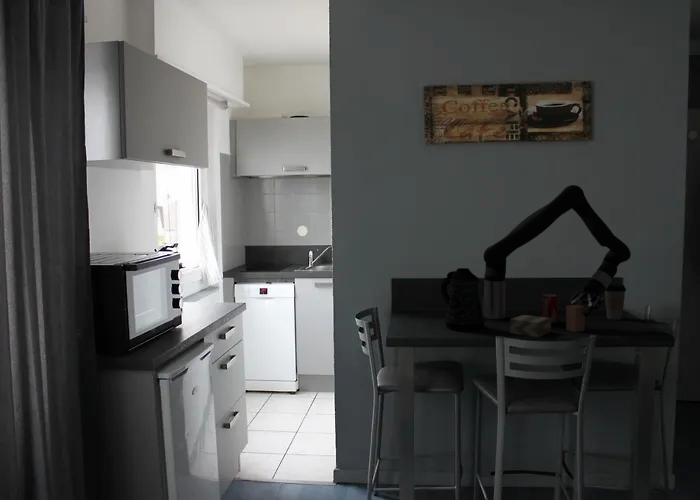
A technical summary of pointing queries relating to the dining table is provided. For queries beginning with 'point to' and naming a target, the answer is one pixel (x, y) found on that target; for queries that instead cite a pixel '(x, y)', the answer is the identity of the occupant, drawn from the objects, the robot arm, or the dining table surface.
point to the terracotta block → (575, 318)
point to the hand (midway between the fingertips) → (576, 313)
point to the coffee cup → (614, 301)
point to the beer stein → (462, 301)
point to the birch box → (530, 325)
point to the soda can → (549, 307)
